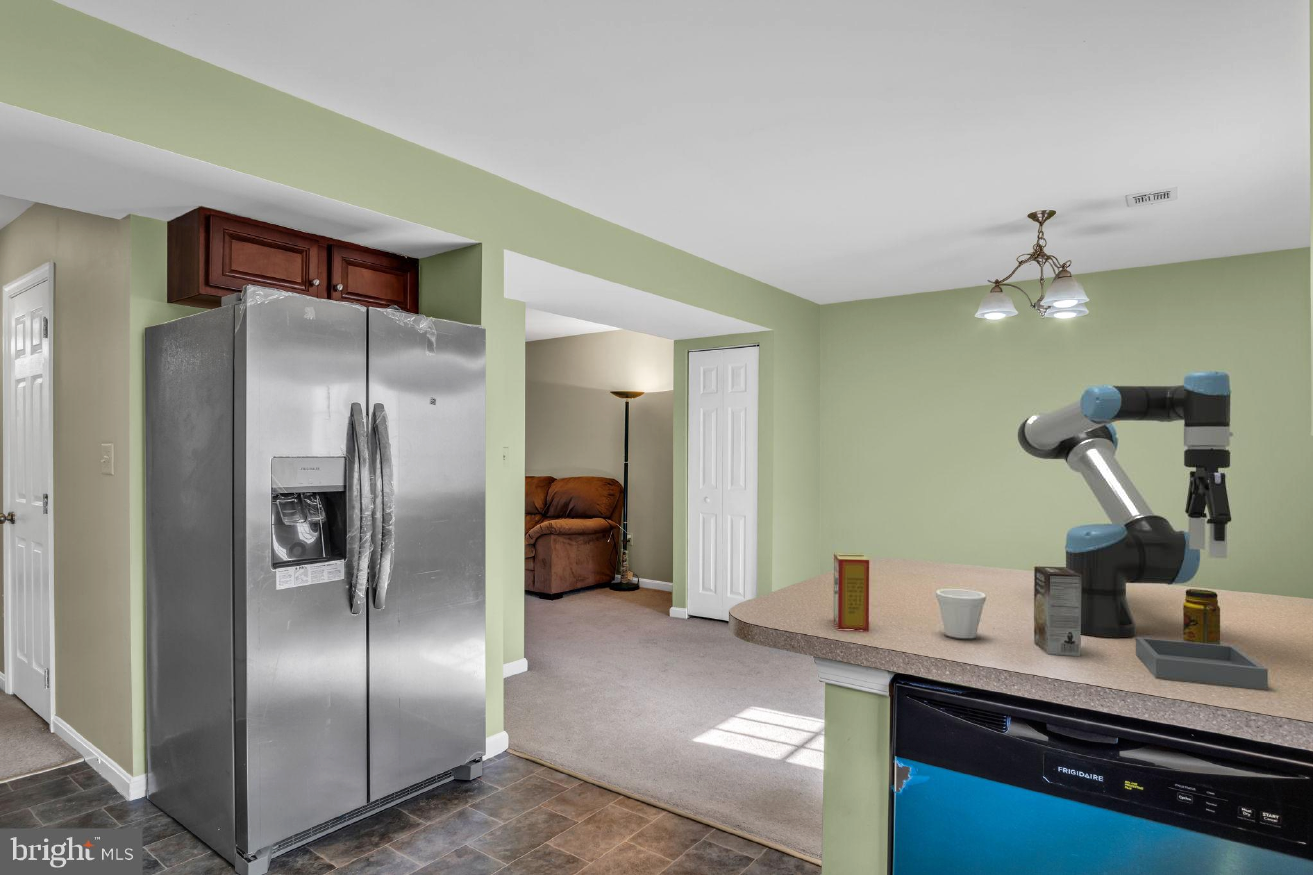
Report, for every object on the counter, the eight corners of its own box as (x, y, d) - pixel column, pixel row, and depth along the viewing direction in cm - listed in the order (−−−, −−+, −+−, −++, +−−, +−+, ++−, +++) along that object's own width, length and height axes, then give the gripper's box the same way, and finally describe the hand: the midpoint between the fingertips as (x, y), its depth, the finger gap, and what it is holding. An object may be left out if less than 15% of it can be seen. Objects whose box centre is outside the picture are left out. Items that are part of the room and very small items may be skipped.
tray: (1155, 678, 131) (1155, 658, 131) (1135, 654, 146) (1135, 636, 146) (1267, 690, 125) (1267, 669, 125) (1234, 664, 140) (1235, 645, 140)
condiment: (1172, 646, 153) (1172, 588, 153) (1207, 644, 154) (1208, 587, 154) (1203, 656, 146) (1203, 595, 146) (1240, 654, 147) (1240, 594, 147)
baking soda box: (868, 631, 163) (869, 558, 163) (838, 630, 163) (838, 557, 164) (862, 621, 172) (862, 552, 172) (833, 620, 173) (833, 551, 173)
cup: (975, 645, 152) (976, 599, 152) (927, 636, 159) (928, 593, 159) (992, 636, 159) (992, 593, 159) (946, 628, 166) (946, 586, 166)
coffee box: (1032, 642, 155) (1032, 565, 155) (1065, 644, 153) (1065, 566, 154) (1047, 654, 145) (1047, 572, 146) (1082, 656, 144) (1083, 574, 145)
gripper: (1252, 448, 137) (1252, 563, 137) (1209, 448, 160) (1209, 546, 160) (1203, 447, 140) (1203, 560, 140) (1168, 448, 163) (1168, 544, 163)
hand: (1206, 553), depth 150 cm, fingers open, 13 cm apart
